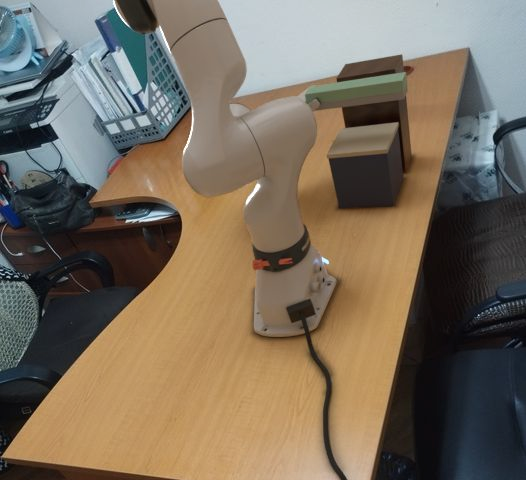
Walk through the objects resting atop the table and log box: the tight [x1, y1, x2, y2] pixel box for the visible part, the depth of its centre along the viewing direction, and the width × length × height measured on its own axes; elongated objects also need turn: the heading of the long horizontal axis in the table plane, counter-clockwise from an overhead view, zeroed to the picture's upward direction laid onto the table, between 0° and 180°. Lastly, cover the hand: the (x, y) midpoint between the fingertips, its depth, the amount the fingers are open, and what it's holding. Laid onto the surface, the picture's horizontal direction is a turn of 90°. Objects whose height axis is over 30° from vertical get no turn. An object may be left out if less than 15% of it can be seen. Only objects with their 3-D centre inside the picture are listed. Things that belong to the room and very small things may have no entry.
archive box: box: [326, 122, 404, 209], centre depth 126 cm, size 14×12×15 cm
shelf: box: [336, 53, 413, 174], centre depth 130 cm, size 14×8×26 cm, turn 66°
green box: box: [305, 71, 409, 112], centre depth 114 cm, size 22×4×4 cm, turn 66°
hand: (322, 95), depth 117 cm, fingers closed on green box, 4 cm apart
